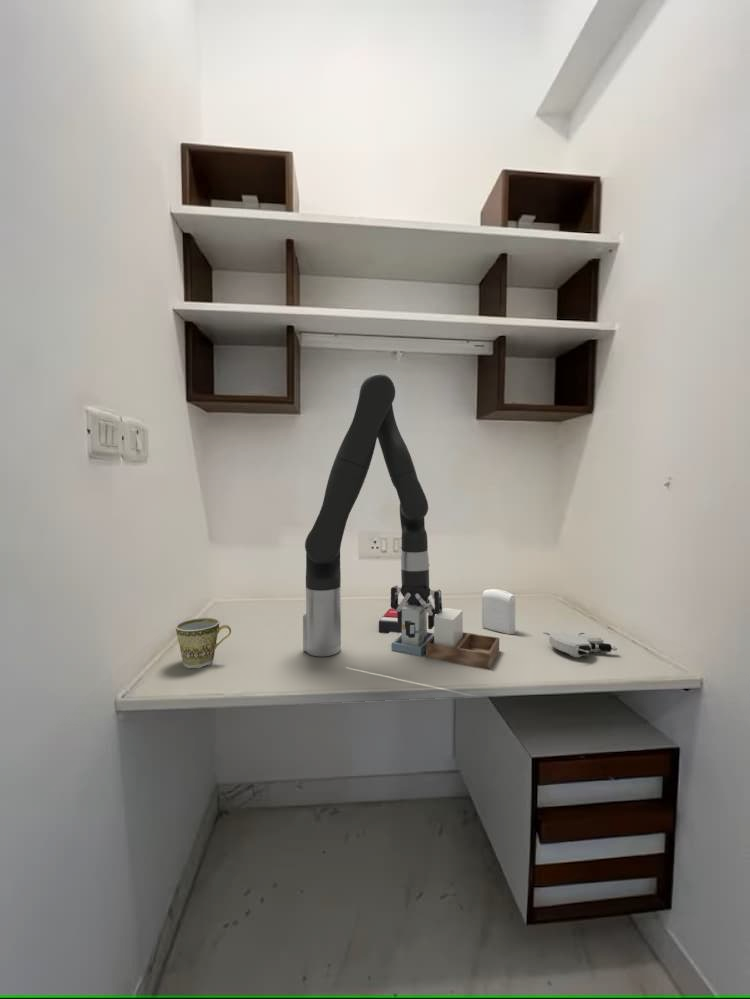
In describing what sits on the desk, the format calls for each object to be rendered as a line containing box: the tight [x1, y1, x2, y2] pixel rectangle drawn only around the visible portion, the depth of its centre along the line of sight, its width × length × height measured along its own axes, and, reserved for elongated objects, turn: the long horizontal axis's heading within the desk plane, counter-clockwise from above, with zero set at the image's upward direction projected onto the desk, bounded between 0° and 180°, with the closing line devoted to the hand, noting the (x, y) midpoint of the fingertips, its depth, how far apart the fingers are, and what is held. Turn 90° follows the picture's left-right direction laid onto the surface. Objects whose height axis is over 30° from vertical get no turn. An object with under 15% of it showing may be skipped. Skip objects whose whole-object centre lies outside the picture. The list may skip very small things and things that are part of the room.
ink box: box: [401, 603, 428, 647], centre depth 116 cm, size 9×5×12 cm, turn 157°
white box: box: [433, 607, 464, 647], centre depth 111 cm, size 5×9×10 cm, turn 153°
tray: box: [391, 631, 434, 657], centre depth 116 cm, size 8×12×2 cm
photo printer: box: [481, 588, 516, 635], centre depth 129 cm, size 10×4×12 cm, turn 44°
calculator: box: [378, 608, 402, 634], centre depth 134 cm, size 11×4×15 cm
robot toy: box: [542, 631, 618, 659], centre depth 113 cm, size 12×4×15 cm
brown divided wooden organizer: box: [425, 632, 500, 670], centre depth 110 cm, size 16×12×4 cm
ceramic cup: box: [175, 617, 232, 670], centre depth 105 cm, size 13×10×10 cm
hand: (416, 626), depth 116 cm, fingers open, 8 cm apart
